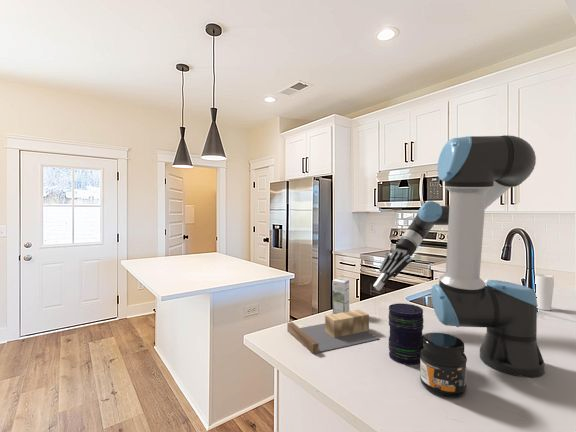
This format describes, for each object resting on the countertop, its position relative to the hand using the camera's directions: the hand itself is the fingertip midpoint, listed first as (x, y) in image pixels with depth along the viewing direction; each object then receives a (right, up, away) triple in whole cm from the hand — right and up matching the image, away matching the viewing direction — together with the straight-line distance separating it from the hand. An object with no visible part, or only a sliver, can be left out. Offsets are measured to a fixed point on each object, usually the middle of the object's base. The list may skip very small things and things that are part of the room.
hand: (376, 288), depth 118 cm
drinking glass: (+80, -14, +18) cm, 83 cm away
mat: (-17, -15, -8) cm, 24 cm away
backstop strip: (-29, -15, -13) cm, 36 cm away
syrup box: (-11, -15, +15) cm, 24 cm away
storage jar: (+2, -15, -25) cm, 30 cm away
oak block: (-6, -11, -3) cm, 13 cm away
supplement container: (+5, -15, -41) cm, 44 cm away
